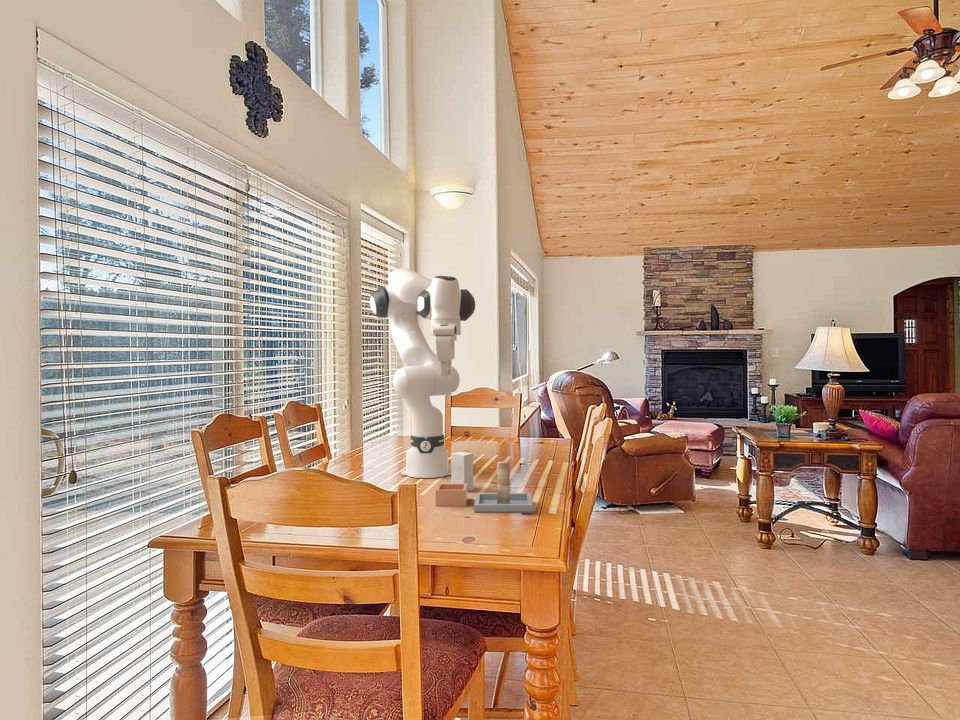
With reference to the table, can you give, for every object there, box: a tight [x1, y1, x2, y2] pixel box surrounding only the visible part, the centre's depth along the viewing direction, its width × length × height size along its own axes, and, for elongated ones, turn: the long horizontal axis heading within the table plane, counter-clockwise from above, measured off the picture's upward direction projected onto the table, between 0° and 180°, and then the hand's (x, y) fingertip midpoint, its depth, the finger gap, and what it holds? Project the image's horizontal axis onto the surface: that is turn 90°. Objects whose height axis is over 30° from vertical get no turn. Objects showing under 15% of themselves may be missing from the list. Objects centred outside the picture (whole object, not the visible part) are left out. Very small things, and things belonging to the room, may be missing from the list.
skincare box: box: [450, 451, 474, 493], centre depth 199 cm, size 6×4×12 cm
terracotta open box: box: [435, 483, 469, 507], centre depth 184 cm, size 9×9×5 cm
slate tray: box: [473, 492, 534, 515], centre depth 179 cm, size 14×16×2 cm
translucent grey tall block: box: [496, 461, 511, 504], centre depth 179 cm, size 4×4×12 cm
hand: (446, 375), depth 190 cm, fingers open, 8 cm apart
